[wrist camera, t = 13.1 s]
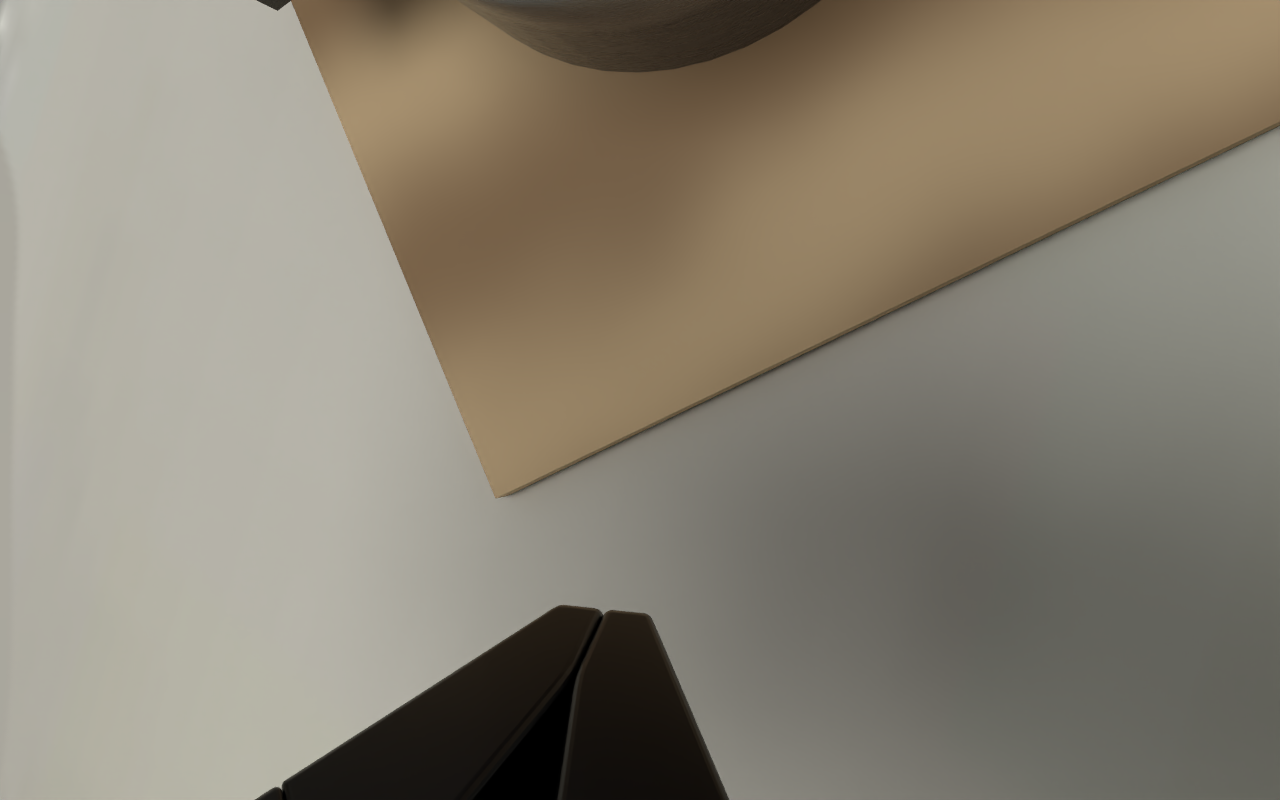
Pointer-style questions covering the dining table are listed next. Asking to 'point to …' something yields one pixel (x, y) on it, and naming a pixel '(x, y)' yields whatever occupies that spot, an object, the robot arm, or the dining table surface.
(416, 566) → the dining table surface
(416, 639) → the dining table surface
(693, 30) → the cooker
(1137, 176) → the board
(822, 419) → the dining table surface
